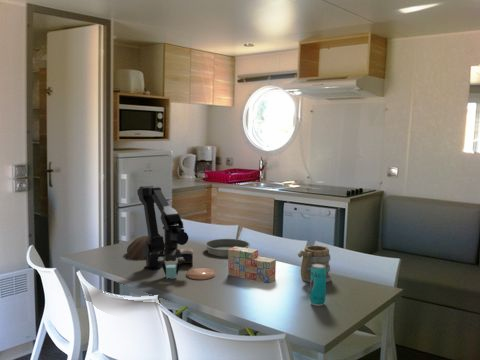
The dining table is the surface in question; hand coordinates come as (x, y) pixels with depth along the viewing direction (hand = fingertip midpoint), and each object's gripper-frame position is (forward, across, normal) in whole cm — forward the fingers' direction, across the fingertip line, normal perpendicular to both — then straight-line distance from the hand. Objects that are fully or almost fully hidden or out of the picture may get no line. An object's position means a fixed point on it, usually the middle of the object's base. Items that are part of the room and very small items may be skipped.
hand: (171, 274), depth 210 cm
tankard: (+1, +61, -10) cm, 62 cm away
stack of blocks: (+1, +36, -3) cm, 36 cm away
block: (+1, 0, 0) cm, 1 cm away
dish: (+1, +13, +2) cm, 14 cm away
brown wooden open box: (+1, +6, +19) cm, 20 cm away
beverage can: (+1, +57, -37) cm, 68 cm away
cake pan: (+2, +28, +42) cm, 51 cm away
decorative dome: (+2, -16, +40) cm, 43 cm away
